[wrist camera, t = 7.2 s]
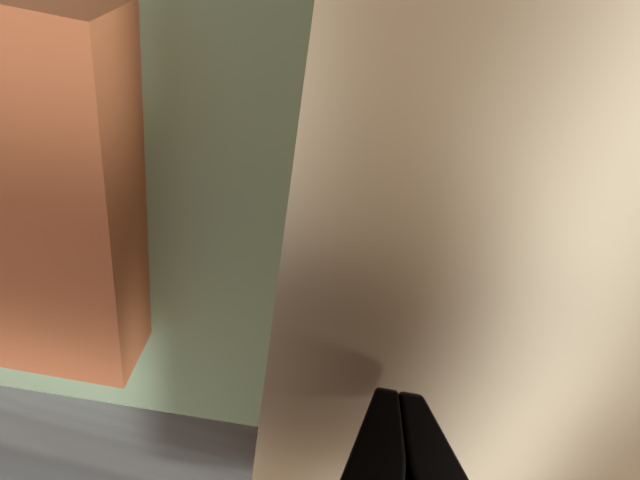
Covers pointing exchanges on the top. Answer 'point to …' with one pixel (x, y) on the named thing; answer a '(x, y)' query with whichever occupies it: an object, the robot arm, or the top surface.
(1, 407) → the top surface
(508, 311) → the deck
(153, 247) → the mat
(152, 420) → the top surface
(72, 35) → the block
